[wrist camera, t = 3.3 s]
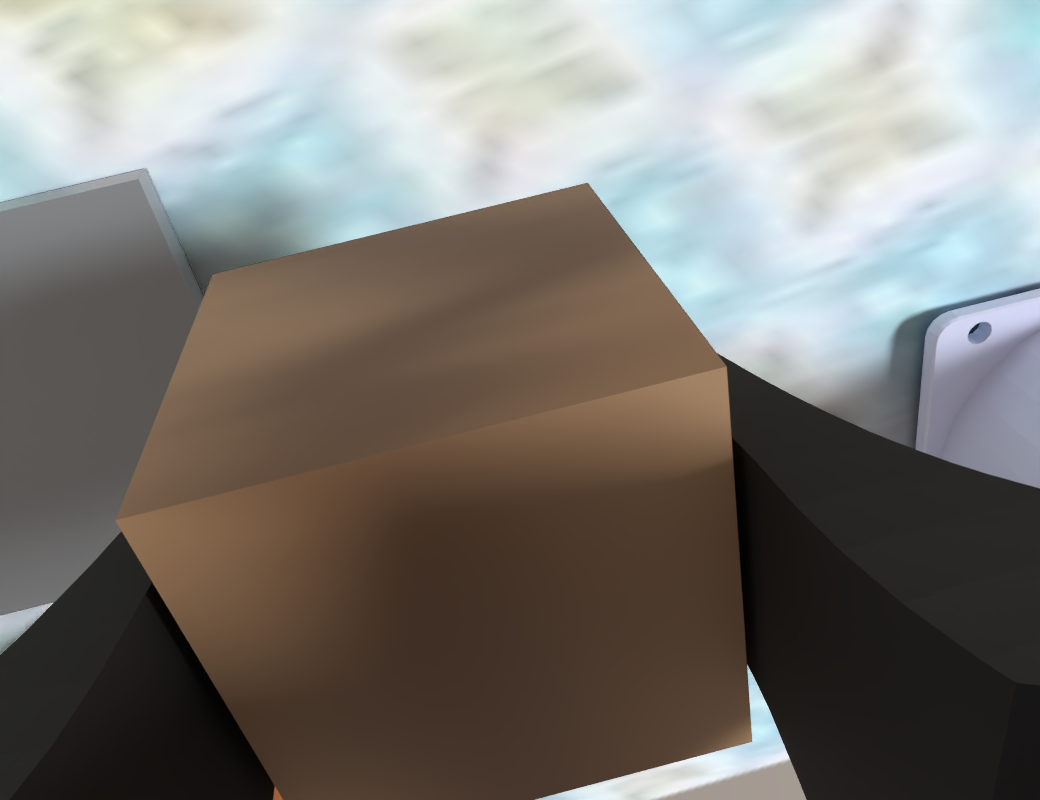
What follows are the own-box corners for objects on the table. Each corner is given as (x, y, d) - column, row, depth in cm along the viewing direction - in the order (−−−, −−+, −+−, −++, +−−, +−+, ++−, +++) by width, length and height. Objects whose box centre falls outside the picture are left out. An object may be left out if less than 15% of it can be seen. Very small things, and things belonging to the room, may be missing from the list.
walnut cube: (588, 182, 11) (727, 366, 7) (632, 478, 14) (752, 742, 9) (213, 274, 11) (115, 520, 7) (333, 554, 13) (318, 857, 9)
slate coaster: (147, 168, 14) (137, 178, 14) (303, 522, 18) (301, 540, 18) (-331, 280, 14) (-358, 295, 13) (-59, 612, 18) (-71, 633, 18)
